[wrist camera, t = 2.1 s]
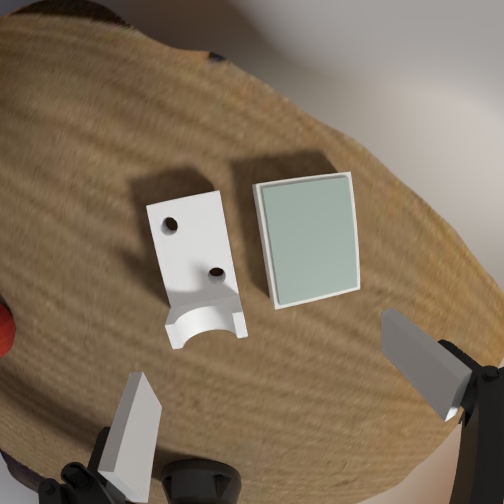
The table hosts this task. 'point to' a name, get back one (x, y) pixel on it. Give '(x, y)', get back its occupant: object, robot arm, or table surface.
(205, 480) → the robot arm
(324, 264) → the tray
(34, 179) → the table surface
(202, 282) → the bracket
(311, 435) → the table surface
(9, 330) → the apple
